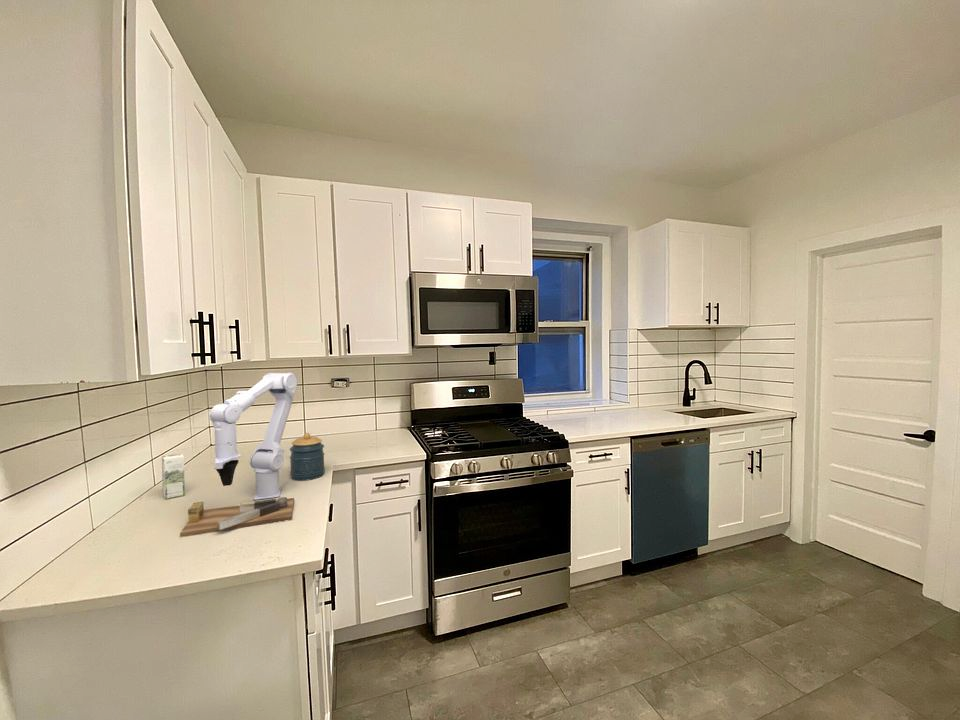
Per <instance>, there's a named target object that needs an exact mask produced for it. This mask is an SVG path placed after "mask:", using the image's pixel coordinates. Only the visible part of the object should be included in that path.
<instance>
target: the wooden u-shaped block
mask: <svg viewBox="0 0 960 720" xmlns="http://www.w3.org/2000/svg"><path fill="white" fill-rule="evenodd" d="M204 503H205V502H204V501H198V502H197V501H196V502H193V503H192V504H191V506H190V507H189V508H188V510H187V511H188V513H187V515H188V517H187V519H188V520H187V521H189V523H193V522H199V515H204V510H205V507H204V505H205V504H204Z"/></svg>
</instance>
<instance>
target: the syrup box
mask: <svg viewBox="0 0 960 720" xmlns="http://www.w3.org/2000/svg"><path fill="white" fill-rule="evenodd" d="M161 469H162V470H161V473H162V475H161V478H162V496H163V497H164V500H170V499H174V498H178V497H179V498H180V497H182V496H185V495H186V494H185V493H186V490H185V489H186V487H185V486H186V483H185V482H186V481H185V480H186V479H185V456H184V455H183V454H182V453H180V452H179V453H173V454H167V455H162V456H161Z"/></svg>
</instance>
